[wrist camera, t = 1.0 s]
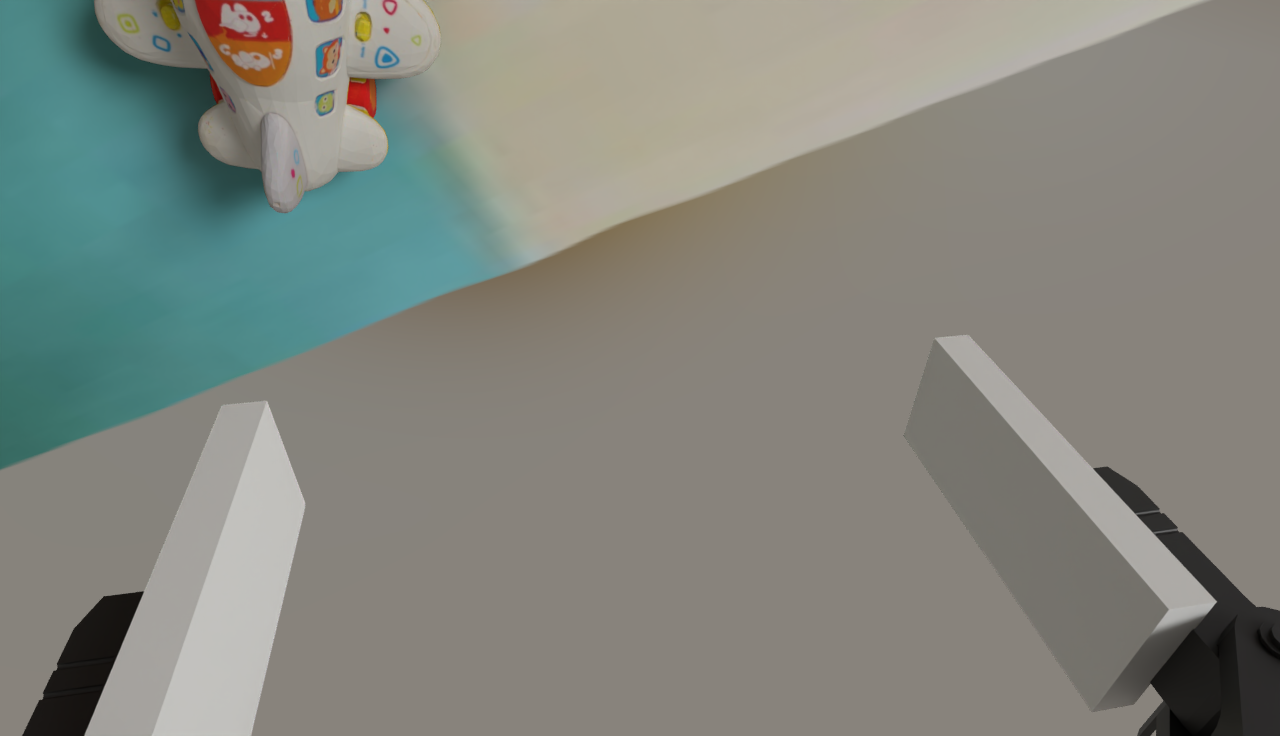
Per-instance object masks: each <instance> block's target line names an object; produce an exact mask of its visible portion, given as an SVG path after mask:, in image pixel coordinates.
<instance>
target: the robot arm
mask: <svg viewBox="0 0 1280 736" xmlns="http://www.w3.org/2000/svg"><path fill="white" fill-rule="evenodd" d="M904 437H905V439H906V440H907V442H908V443H909V445H910V446H911V447H912V449H913V451H914V452H915V453H916V455H917V456H918V458H919V459H920V461H921V462H922V464H923V465H924V467H925V468H926V470H927V471H928V473H929V474H930V475H931V477H932V478H933V480H934V481H935V483H936V484H937V486H938V487H939V489H940V490H941V492H942V493H943V495H944V496H945V497H946V499H947V500H948V502H949V503H950V505H951V506H952V508H953V509H954V510H955V512H956V514H957V515H958V517H959V518H960V519H961V521H962V522H963V524H964V525H965V527H966V528H967V530H968V531H969V533H970V534H971V536H972V537H973V538H974V540H975V541H976V543H977V544H978V546H979V547H980V549H981V550H982V552H983V553H984V555H985V556H986V558H987V559H988V560H989V562H990V564H991V565H992V566H993V568H994V569H995V571H996V572H997V574H998V575H999V577H1000V578H1001V580H1002V581H1003V583H1004V584H1005V585H1006V587H1007V588H1008V590H1009V591H1010V593H1011V594H1012V596H1013V597H1014V599H1015V600H1016V602H1017V603H1018V605H1019V606H1020V608H1021V609H1022V610H1023V612H1024V613H1025V615H1026V616H1027V618H1028V619H1029V621H1030V622H1031V624H1032V625H1033V627H1034V628H1035V630H1036V631H1037V632H1038V634H1039V635H1040V637H1041V638H1042V640H1043V641H1044V643H1045V644H1046V646H1047V647H1048V649H1049V650H1050V651H1051V653H1052V654H1053V656H1054V657H1055V659H1056V660H1057V662H1058V663H1059V665H1060V666H1061V668H1062V669H1063V671H1064V672H1065V674H1066V675H1067V677H1068V678H1069V679H1070V681H1071V682H1072V684H1073V685H1074V687H1075V688H1076V690H1077V691H1078V693H1079V694H1080V696H1081V697H1082V699H1083V700H1084V701H1085V703H1086V704H1087V706H1088V707H1089V709H1090V710H1091V712H1095V711H1100V710H1106V709H1111V708H1117V707H1123V706H1128V705H1133V704H1134V703H1135V702H1136V701H1137V700H1138V699H1139V697H1140V696H1141V695H1142V693H1143V692H1144V691H1145V690H1146V689H1147V687H1148V686H1149V685H1150V684H1152V685H1153V687H1154V688H1155V690H1156V691H1157V692H1158V694H1159V695H1160V696H1161V697H1162V699H1163V700H1164V701H1163V702H1162V703H1161V704H1160V706H1159V707H1158V708H1157V709H1156V710H1155V711H1154V713H1153V714H1152V715H1151V716H1150V717H1149V718H1148V720H1147V721H1146V722H1145V723H1144V724H1143V726H1142V727H1141V728H1140V729H1139V732H1138V735H1137V736H1150V735H1151V734H1152V733H1153V732H1154V731H1155V730H1156V736H1280V611H1278V610H1274V609H1270V608H1266V607H1256V606H1255V605H1254V604H1252V603H1251V602H1250V601H1249V600H1248V599H1247V598H1246V597H1245V596H1244V595H1243V594H1242V593H1241V592H1240V591H1239V590H1238V589H1237V588H1236V587H1235V586H1234V585H1233V584H1232V583H1231V582H1230V581H1229V580H1228V579H1227V578H1226V576H1225V575H1224V574H1223V573H1222V572H1221V571H1220V570H1219V569H1218V568H1217V567H1216V566H1215V565H1214V564H1213V563H1212V562H1211V561H1210V560H1209V559H1208V558H1207V557H1206V556H1205V555H1204V554H1203V553H1202V552H1201V551H1200V550H1199V549H1198V548H1197V547H1196V546H1195V545H1194V544H1193V543H1192V542H1191V541H1190V540H1189V538H1188V537H1187V536H1186V535H1185V534H1184V533H1182V532H1178V530H1177V526H1176V525H1175V524H1174V523H1173V522H1172V521H1171V520H1170V519H1169V518H1168V517H1167V516H1166V515H1165V514H1164V513H1162V514H1161V513H1160V512H1159V508H1158V507H1157V506H1156V505H1155V504H1154V503H1153V502H1152V501H1151V499H1150V498H1148V496H1147V495H1146V494H1145V493H1144V492H1143V491H1142V490H1141V489H1140V488H1139V487H1138V486H1136V485H1135V484H1133V483H1132V482H1131V481H1129V480H1127V479H1126V478H1124V477H1123V476H1121V475H1119V474H1118V473H1116V472H1115V471H1113V470H1112V469H1110V468H1109V467H1101V468H1092V467H1091V466H1090V465H1089V464H1088V463H1087V462H1086V461H1085V460H1084V459H1083V458H1082V456H1081V455H1080V454H1079V453H1078V452H1077V451H1076V450H1075V449H1074V448H1073V447H1072V446H1071V445H1070V444H1069V443H1068V442H1067V440H1066V439H1065V438H1064V437H1063V436H1062V435H1061V434H1060V433H1059V432H1058V431H1057V430H1056V429H1055V428H1054V426H1053V425H1052V424H1051V423H1050V422H1049V421H1048V420H1047V419H1046V418H1045V417H1044V416H1043V415H1042V414H1041V412H1039V410H1038V409H1037V408H1036V407H1035V406H1034V405H1033V404H1032V403H1031V402H1030V401H1029V400H1028V399H1027V397H1025V395H1024V394H1023V393H1022V392H1021V391H1020V390H1019V389H1018V388H1017V387H1016V386H1015V385H1014V384H1013V383H1012V382H1011V381H1010V379H1009V378H1008V377H1007V376H1006V375H1005V374H1004V373H1003V372H1002V371H1001V370H1000V369H999V368H998V366H997V365H996V364H995V363H994V362H993V361H992V360H991V359H990V358H989V357H988V356H987V355H986V353H984V351H983V350H982V349H981V348H980V347H979V346H978V345H977V344H976V343H975V342H974V341H973V340H972V338H970V336H969V335H962V336H951V337H941V338H934V341H933V345H932V348H931V351H930V354H929V357H928V360H927V363H926V367H925V370H924V373H923V376H922V379H921V383H920V386H919V389H918V392H917V395H916V398H915V401H914V405H913V408H912V411H911V414H910V417H909V420H908V424H907V427H906V430H905V433H904ZM305 505H306V504H305V502H304V499H303V496H302V493H301V491H300V488H299V486H298V483H297V480H296V478H295V475H294V472H293V469H292V467H291V464H290V462H289V459H288V456H287V453H286V451H285V448H284V445H283V443H282V440H281V437H280V434H279V432H278V429H277V426H276V424H275V421H274V419H273V416H272V413H271V410H270V408H269V405H268V402H267V401H259V402H249V403H238V404H228V405H222V406H221V408H220V411H219V413H218V416H217V418H216V420H215V423H214V425H213V427H212V430H211V432H210V435H209V438H208V440H207V442H206V444H205V447H204V449H203V452H202V454H201V456H200V459H199V461H198V463H197V466H196V468H195V471H194V473H193V475H192V478H191V480H190V483H189V485H188V488H187V490H186V493H185V495H184V497H183V500H182V502H181V504H180V507H179V509H178V512H177V514H176V516H175V519H174V521H173V524H172V526H171V528H170V531H169V533H168V536H167V538H166V540H165V543H164V545H163V548H162V550H161V552H160V555H159V557H158V560H157V562H156V564H155V567H154V569H153V572H152V574H151V576H150V579H149V581H148V584H147V586H146V588H145V591H144V592H136V593H128V594H120V595H112V596H104V597H103V598H102V599H101V600H100V601H99V602H98V603H97V604H96V605H95V607H94V608H93V609H92V610H91V611H90V612H89V613H88V614H87V615H86V616H85V617H84V618H83V620H82V621H81V622H80V623H79V624H78V625H77V626H76V627H75V628H74V630H73V632H72V634H71V636H70V638H69V640H68V642H67V644H66V646H65V648H64V650H63V652H62V654H61V657H60V659H59V661H58V663H57V665H58V668H57V670H56V671H53V673H52V675H51V677H50V679H49V682H48V683H47V686H46V688H45V690H44V692H43V694H44V697H43V699H42V700H39V702H38V704H37V706H36V708H35V710H34V712H33V715H32V717H31V719H30V721H29V723H28V725H27V727H26V729H25V731H24V734H23V735H22V736H251V733H252V729H253V724H254V721H255V716H256V712H257V708H258V703H259V699H260V695H261V691H262V687H263V683H264V678H265V674H266V670H267V666H268V662H269V657H270V653H271V649H272V645H273V640H274V636H275V632H276V628H277V624H278V619H279V615H280V611H281V607H282V602H283V598H284V594H285V590H286V586H287V581H288V577H289V573H290V569H291V564H292V560H293V556H294V552H295V547H296V543H297V539H298V535H299V531H300V527H301V522H302V518H303V514H304V510H305Z"/></svg>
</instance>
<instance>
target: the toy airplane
mask: <svg viewBox="0 0 1280 736" xmlns="http://www.w3.org/2000/svg"><path fill="white" fill-rule="evenodd" d="M94 6H95V14H96V16H97V19H98V22H99V24H100V25H101V27H102V29H103V30H104V32H105V33H106V34H107V36H108V37H109V38H110V39H111V41H112V42H114V43H115V44H116V45H117V46H118V47H120V48H121V49H122V50H123V51H124V52H126V53H128V54H130V55H132V56H134V57H136V58H138V59H140V60H143V61H147V62H151V63H155V64H160V65H166V66H173V67H184V68H203V69H208V70H209V72H210V81H211V87H212V92H213V95H214V99H215V101H216V103H217V104H216V105H215V106H213V107H211V108H210V109H209V110H207V111H206V112H205V113H204V114H203V115H202V117H201V118H200V121H199V123H198V133H199V137H200V140H201V142H202V144H203V146H204V147H205V149H206V150H207V151H208V152H209V153H210V154H211V155H212V156H213V157H215V158H216V159H218V160H220V161H221V162H224V163H226V164H228V165H233V166H239V167H244V168H253V169H259V170H260V171H261V172H262V178H263V185H264V191H265V194H266V197H267V200H268V202H269V205H270V207H272V208H273V209H274V210H275V211H277V212H280V213H288V212H291V211H292V210H293V209H294V208H295V207H296V206H297V205H298V203H299V202H300V200H301V199H302V197H303V194H304V191H311V190H313V189H316V188H319V187H321V186H323V185H325V184H326V183H328V182H330V181H331V180H332V179H333V177H334V176H335V175H336V174H337V173H338V172H349V171H364V170H368V169H372V168H374V167H376V166H378V165H379V164H381V163H382V162H383V160H384V158H385V156H386V154H387V151H388V140H387V136H386V133H385V131H384V129H383V128H382V127H381V126H380V125H379V123H378V122H377V121H376V120H375V119H373V118H374V116H375V113H376V85H375V79H401V78H407V77H411V76H415V75H418V74H420V73H422V72H424V71H426V70H427V69H429V68H430V66H431V65H432V63H433V62H434V61H435V59H436V58H437V57H438V53H439V50H440V45H441V35H440V27H439V25H438V23H437V21H436V18H435V16H434V14H433V12H432V10H431V9H430V8H429V6H428V5H427V4H426V2H425V1H424V0H94Z"/></svg>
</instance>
